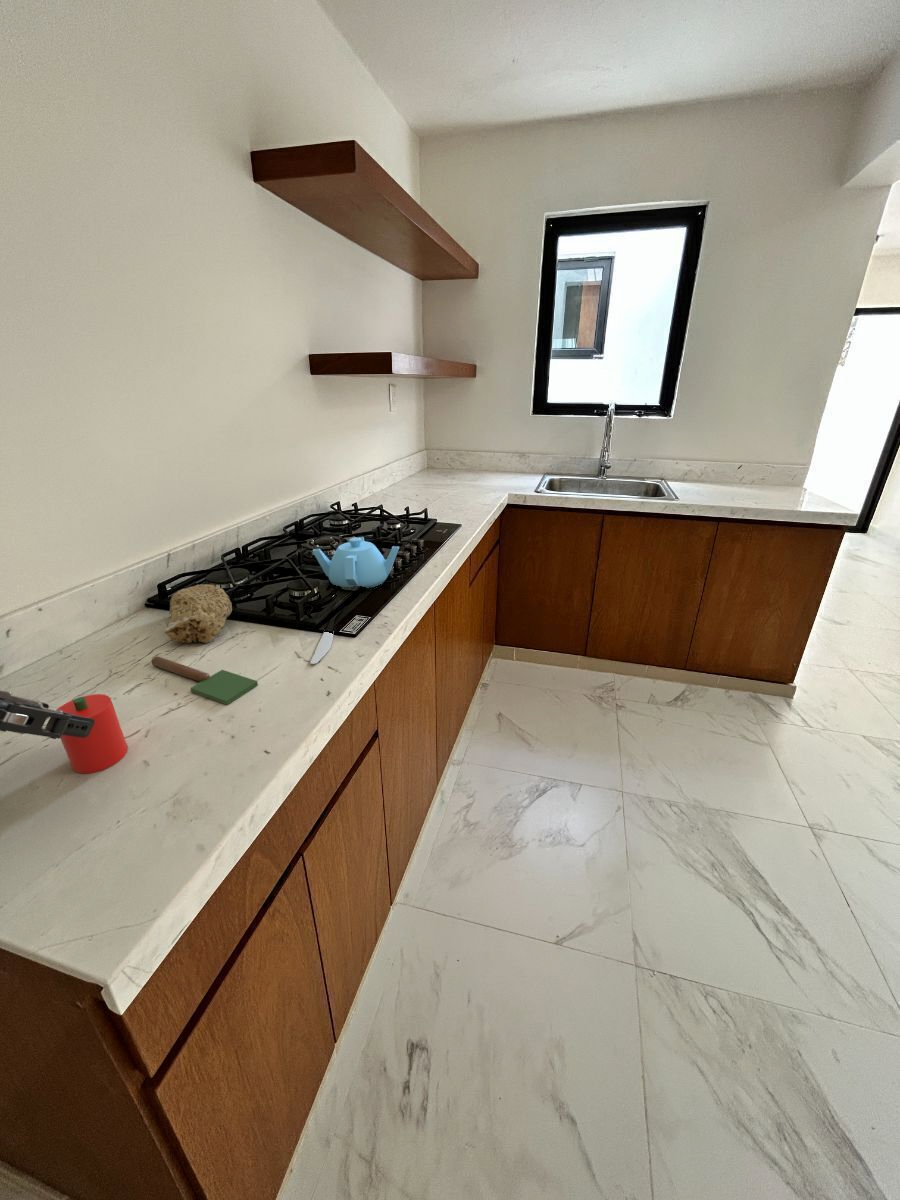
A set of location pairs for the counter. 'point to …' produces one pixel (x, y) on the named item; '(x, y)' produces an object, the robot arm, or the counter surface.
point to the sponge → (198, 613)
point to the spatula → (211, 681)
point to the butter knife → (322, 647)
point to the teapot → (357, 564)
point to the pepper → (95, 735)
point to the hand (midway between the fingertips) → (66, 720)
